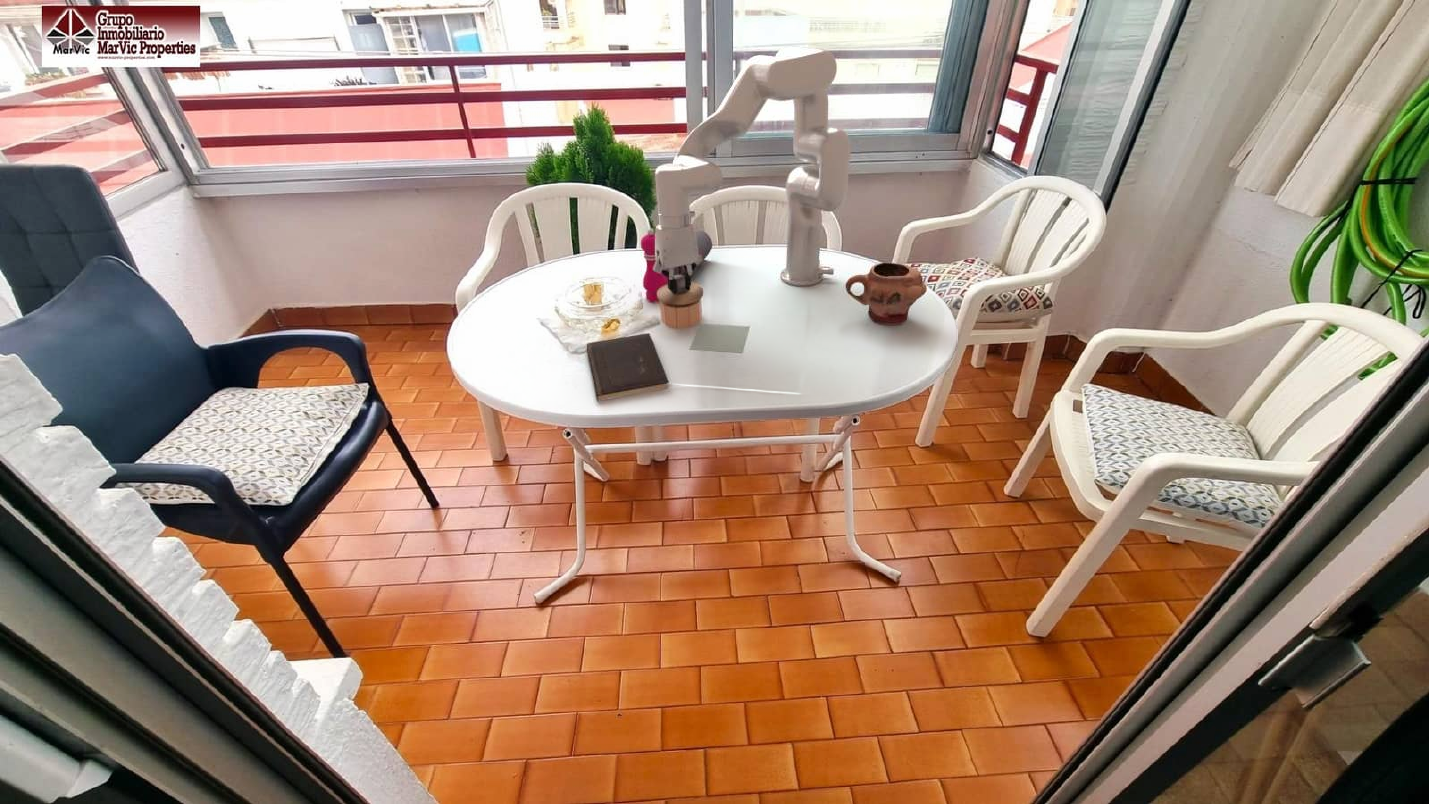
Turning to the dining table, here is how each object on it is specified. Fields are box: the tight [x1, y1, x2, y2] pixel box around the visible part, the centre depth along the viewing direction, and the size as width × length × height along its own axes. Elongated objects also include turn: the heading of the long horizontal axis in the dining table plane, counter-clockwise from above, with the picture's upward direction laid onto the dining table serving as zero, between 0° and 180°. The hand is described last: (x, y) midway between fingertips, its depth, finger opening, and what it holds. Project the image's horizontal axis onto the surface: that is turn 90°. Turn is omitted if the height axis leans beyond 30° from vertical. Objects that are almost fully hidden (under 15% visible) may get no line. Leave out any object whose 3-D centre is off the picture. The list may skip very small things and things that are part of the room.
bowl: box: [659, 298, 703, 329], centre depth 152 cm, size 10×11×6 cm
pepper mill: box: [640, 228, 668, 303], centre depth 159 cm, size 7×7×20 cm
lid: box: [657, 275, 704, 305], centre depth 148 cm, size 12×12×5 cm
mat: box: [689, 323, 750, 354], centre depth 145 cm, size 13×13×1 cm
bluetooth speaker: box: [674, 230, 713, 276], centre depth 175 cm, size 23×9×10 cm, turn 159°
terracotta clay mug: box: [844, 262, 928, 326], centre depth 147 cm, size 20×12×14 cm, turn 89°
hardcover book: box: [586, 332, 670, 402], centre depth 135 cm, size 16×23×2 cm
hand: (679, 289), depth 149 cm, fingers closed on lid, 3 cm apart
